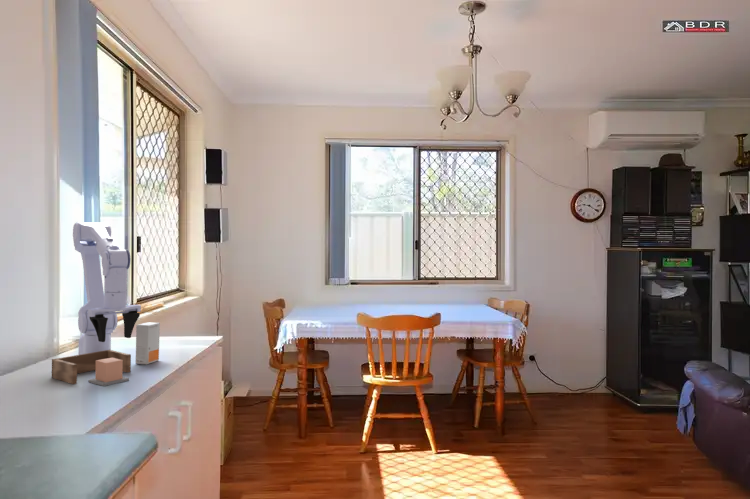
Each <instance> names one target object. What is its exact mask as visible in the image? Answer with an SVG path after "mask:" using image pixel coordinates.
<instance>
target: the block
mask: <svg viewBox="0 0 750 499" xmlns="http://www.w3.org/2000/svg"><path fill="white" fill-rule="evenodd" d="M122 369H123V360H120V359H116V358H107V359H101V360H96V370H95V375H94V376H95V377H94V378H95V379H96V380H100V381H103V382H109V381H114V380H119V379H122V377H123V371H122Z"/></svg>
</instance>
